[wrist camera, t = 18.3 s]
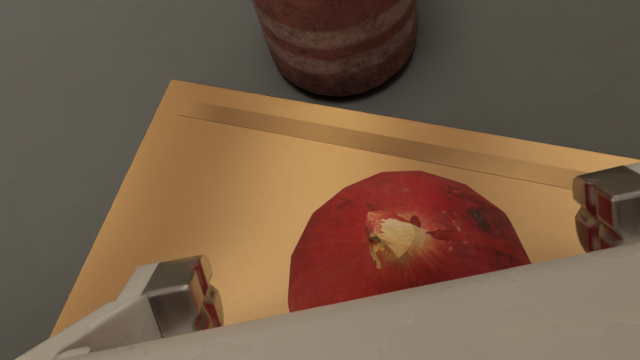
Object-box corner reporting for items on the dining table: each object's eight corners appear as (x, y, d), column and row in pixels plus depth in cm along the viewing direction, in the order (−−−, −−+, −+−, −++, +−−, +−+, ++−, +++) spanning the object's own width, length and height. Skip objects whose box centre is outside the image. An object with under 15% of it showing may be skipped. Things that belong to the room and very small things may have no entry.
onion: (460, 208, 18) (489, 52, 11) (545, 386, 16) (654, 327, 9) (291, 268, 18) (215, 149, 11) (349, 456, 16) (297, 455, 9)
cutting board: (23, 453, 19) (-8, 452, 17) (184, 99, 24) (170, 77, 23) (709, 717, 14) (743, 746, 12) (717, 196, 19) (740, 175, 18)
